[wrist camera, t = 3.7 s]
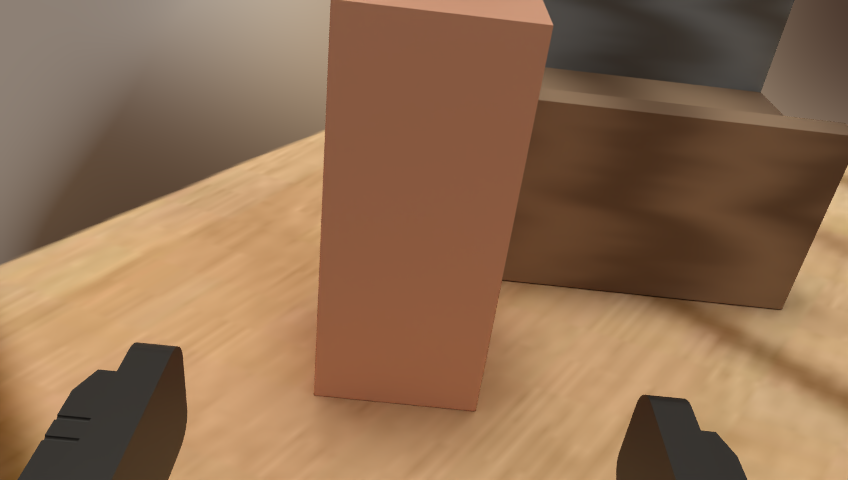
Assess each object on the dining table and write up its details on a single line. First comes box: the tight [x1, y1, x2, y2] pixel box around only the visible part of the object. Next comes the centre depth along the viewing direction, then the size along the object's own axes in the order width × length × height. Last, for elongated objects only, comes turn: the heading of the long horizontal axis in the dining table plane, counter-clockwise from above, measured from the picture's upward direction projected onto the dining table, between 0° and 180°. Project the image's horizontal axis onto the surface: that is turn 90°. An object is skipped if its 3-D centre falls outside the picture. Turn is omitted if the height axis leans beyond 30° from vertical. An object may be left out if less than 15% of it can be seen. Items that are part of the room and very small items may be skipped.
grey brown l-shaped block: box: [502, 0, 848, 309], centre depth 29 cm, size 14×10×18 cm
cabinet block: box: [314, 0, 553, 411], centre depth 21 cm, size 5×5×14 cm
